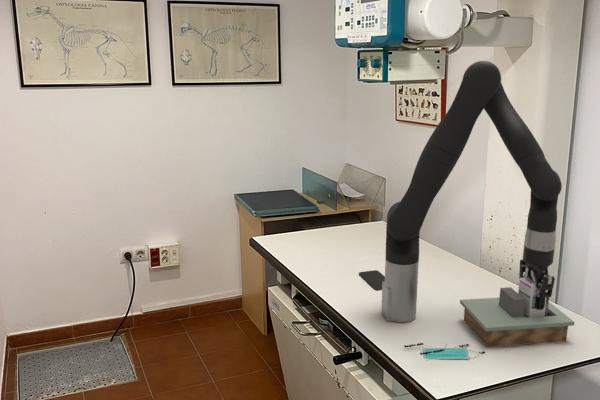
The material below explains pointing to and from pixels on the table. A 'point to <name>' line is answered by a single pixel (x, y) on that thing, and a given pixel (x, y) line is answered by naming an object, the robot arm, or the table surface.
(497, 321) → the lid
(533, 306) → the syrup box
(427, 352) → the surgical mask
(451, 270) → the table surface
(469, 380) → the table surface
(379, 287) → the phone
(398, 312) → the robot arm
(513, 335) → the wooden frame
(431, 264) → the table surface
